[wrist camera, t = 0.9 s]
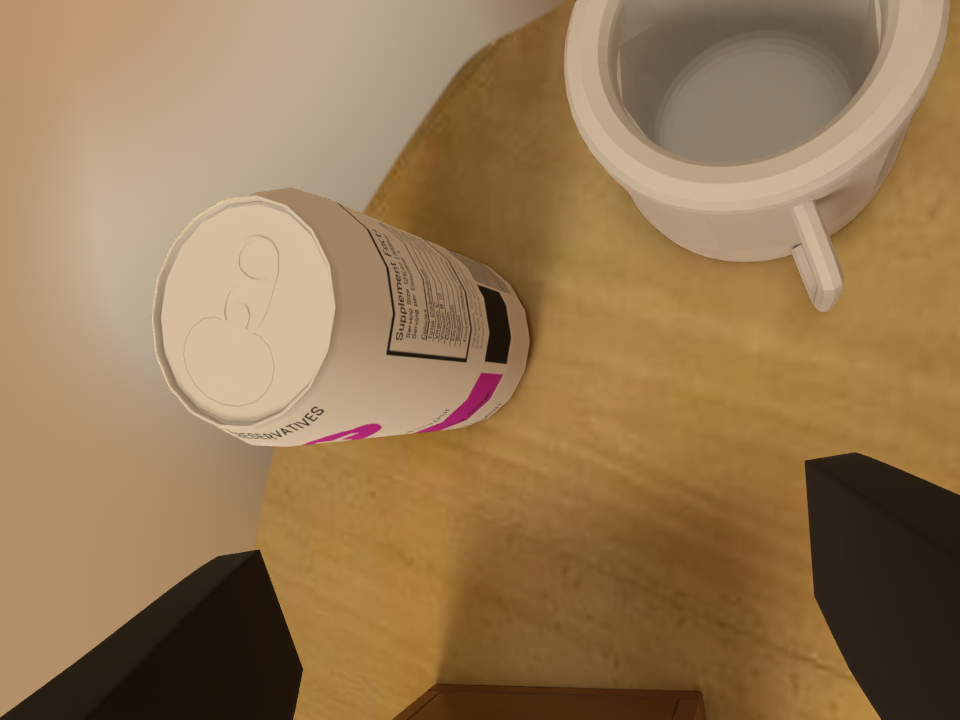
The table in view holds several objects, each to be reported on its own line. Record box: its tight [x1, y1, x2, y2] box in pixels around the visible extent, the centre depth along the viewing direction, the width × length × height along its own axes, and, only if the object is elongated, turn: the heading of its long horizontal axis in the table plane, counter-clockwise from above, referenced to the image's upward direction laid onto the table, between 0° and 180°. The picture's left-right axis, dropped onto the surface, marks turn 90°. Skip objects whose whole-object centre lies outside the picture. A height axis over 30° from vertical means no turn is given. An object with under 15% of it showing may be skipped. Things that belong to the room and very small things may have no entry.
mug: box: [564, 0, 950, 312], centre depth 25 cm, size 14×11×10 cm
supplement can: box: [151, 188, 530, 447], centre depth 28 cm, size 8×8×15 cm
